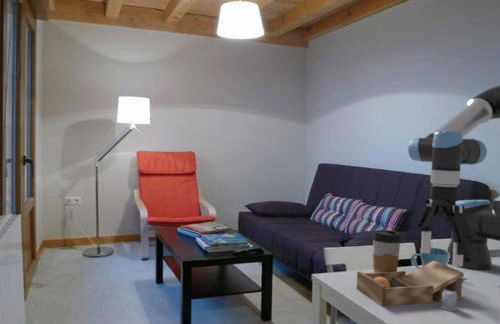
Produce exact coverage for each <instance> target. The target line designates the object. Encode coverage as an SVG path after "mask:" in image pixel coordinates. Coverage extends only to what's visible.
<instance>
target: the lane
mask: <svg viewBox="0 0 500 324" xmlns="http://www.w3.org/2000/svg"><path fill="white" fill-rule="evenodd" d="M356 272H357V273H356V289H357V290H358V291H359V292H361V293H363V295H365V296H367V297H368V298H369V299H370V300H372V301H374V302H375V303H377V304H378V305H379V306H383V307H384V306H398V305H409V304H410V305H411V304H413V305H414V304H427V303H433V302H434V299H436V300H437V301H439V302H442V292H443V291H445V290H447V291H452V292H453V291H455V292H456V293H457V301H458V300H462V290H463V289H462V287H463V277H465V276H464V272H462V271H461V270H458V269H456V268H453V267H451V266H448V265H446V264H443V263H441V262H439V261H436V260H432V261H431V262H428V263H426V264H424V265H423V266H422V267H421V266H420V267H419V268H417V269H416V270H414V271H412V272H410V273H408V274H407V273H406V271H403V270H402V271H400V270H399V271H397V272H378V273H374V272H362V271H356ZM376 277H384V278H386V279H387V280H388V282H389V284H390V288H386V287H385V286H384V285H382V284H381V283H379V282H377V281H376V280H374V278H376Z"/></svg>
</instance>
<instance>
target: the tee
mask: <svg viewBox="0 0 500 324" xmlns="http://www.w3.org/2000/svg"><path fill="white" fill-rule="evenodd" d="M457 301H458V300H457V293H456V292H455V291H453V292H452V291H447V290H445V291H443V292H442V301H441V304H440V308H441V309H442V310H445V311H449V312H456V311H458V306H457Z"/></svg>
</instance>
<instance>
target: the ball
mask: <svg viewBox="0 0 500 324" xmlns="http://www.w3.org/2000/svg"><path fill="white" fill-rule="evenodd" d="M374 280H376V281H377V282H379V283H381V284H382V285H384V286H385V287H386V288H390V284H389V282H388V280H387V279H386V278H384V277H376V278H374Z"/></svg>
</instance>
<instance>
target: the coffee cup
mask: <svg viewBox="0 0 500 324" xmlns="http://www.w3.org/2000/svg"><path fill="white" fill-rule="evenodd" d="M401 239H402V237H401V236H400V233H399V232H398V231H394V230H386V229H378V230H374V234H373V235H372V247H373V249H372V250H373V251H372V263H373V264H372V265H373V266H372V268H373V273H378V272H398V266H399V257H400V256H399V255H400V254H399V253H400V246H401V242H402V240H401Z"/></svg>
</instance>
